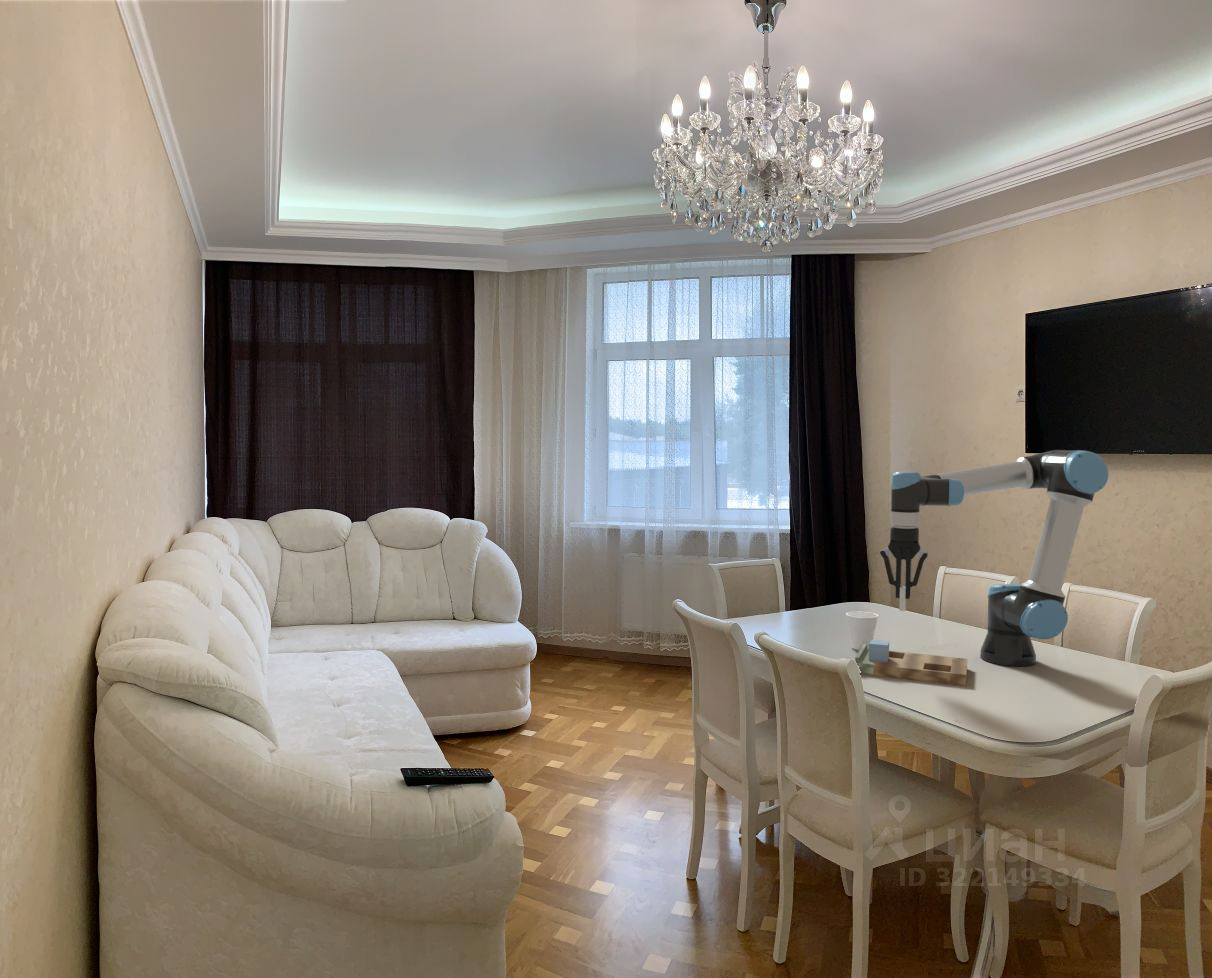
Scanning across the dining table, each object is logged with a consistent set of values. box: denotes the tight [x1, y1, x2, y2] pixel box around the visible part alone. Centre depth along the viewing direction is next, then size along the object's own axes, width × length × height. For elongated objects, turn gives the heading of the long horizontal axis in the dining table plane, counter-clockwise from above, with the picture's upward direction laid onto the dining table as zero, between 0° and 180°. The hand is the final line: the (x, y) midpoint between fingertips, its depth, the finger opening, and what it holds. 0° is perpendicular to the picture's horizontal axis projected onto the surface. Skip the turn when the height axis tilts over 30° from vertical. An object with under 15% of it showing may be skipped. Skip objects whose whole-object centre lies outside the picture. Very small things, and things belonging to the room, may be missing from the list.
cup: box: [845, 610, 879, 651], centre depth 262 cm, size 10×10×11 cm
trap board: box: [854, 643, 968, 687], centre depth 237 cm, size 29×18×4 cm, turn 66°
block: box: [869, 639, 890, 663], centre depth 238 cm, size 5×5×5 cm
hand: (902, 609), depth 233 cm, fingers closed
